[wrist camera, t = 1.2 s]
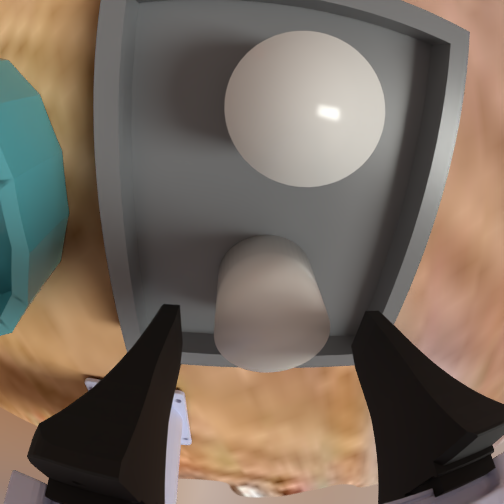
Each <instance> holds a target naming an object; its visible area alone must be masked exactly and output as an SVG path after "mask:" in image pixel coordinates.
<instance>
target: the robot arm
mask: <svg viewBox="0 0 504 504" xmlns="http://www.w3.org/2000/svg"><path fill="white" fill-rule="evenodd" d="M182 346H183V338H182V326H181V313H180V305H173V304H163V305H162V306H161V307H160V309H159V310H158V312H157V314H156V315H155V317H154V318H153V320H152V321H151V323H150V324H149V325H148V327H147V328H146V330H145V331H144V332H143V334H142V335H141V336H140V338H139V339H138V340H137V342H136V343H135V344H134V345H133V346H132V348H131V349H130V350H129V351H128V352H127V354H126V355H125V356H124V357H123V358H122V359H121V361H120V362H119V363H118V364H117V365H116V366H115V367H114V368H113V369H112V370H111V371H110V372H109V373H108V374H107V375H106V376H105V377H104V378H103V379H102V380H99V379H93V378H86V380H85V385H86V387H87V389H88V392H87V393H85V394H84V395H83V396H81V397H80V398H79V399H77V400H76V401H75V402H73V403H72V404H70V405H69V406H68V407H66V408H65V409H63V410H62V411H60V412H58V413H57V414H55V415H53V416H52V417H50V418H48V419H47V420H45V421H43V422H41V423H39V425H38V427H37V429H36V431H35V434H34V436H33V439H32V442H31V445H30V448H29V452H28V455H27V457H28V459H29V461H30V462H31V463H32V464H33V465H34V466H35V467H36V468H37V469H38V470H40V471H41V472H42V473H43V474H45V475H46V476H47V477H49V480H48V485H47V484H45V483H43V482H41V481H39V480H37V479H34V478H32V477H29V476H27V475H25V474H22V473H20V472H18V471H16V470H13V471H12V474H11V478H10V481H9V485H8V489H7V493H6V497H5V501H4V504H176V500H177V486H178V473H179V460H180V448H181V444H182V445H190V444H191V443H192V439H191V433H190V427H189V420H188V413H187V406H186V399H185V394H184V392H182V391H180V390H175V389H176V384H177V379H178V375H179V370H180V365H181V356H182ZM351 348H352V354H353V359H354V364H355V369H356V372H357V375H358V378H359V381H360V384H361V387H362V390H363V393H364V396H365V399H366V402H367V406H368V409H369V412H370V416H371V420H372V425H373V431H374V437H375V444H376V452H377V462H378V483H379V495H378V504H504V452H503V453H501V454H500V455H498V456H496V457H495V458H493V459H492V456H491V454H492V453H493V452H494V448H493V446H492V445H493V444H494V443H495V442H496V441H497V440H498V439H500V438H501V437H502V436H503V435H504V404H502V403H499V402H497V401H495V400H492V399H490V398H488V397H485V396H484V395H482V394H480V393H478V392H476V391H474V390H472V389H470V388H469V387H467V386H465V385H464V384H462V383H461V382H459V381H458V380H456V379H455V378H453V377H452V376H450V375H449V374H448V373H446V372H445V371H444V370H442V369H441V368H440V367H438V366H437V365H436V364H435V363H433V362H432V361H431V360H430V359H429V358H428V357H427V356H425V355H424V354H423V353H422V352H421V351H420V350H419V349H418V348H417V347H416V346H414V345H413V344H412V343H411V342H410V341H409V340H408V339H407V338H406V337H405V336H404V335H403V334H402V333H401V332H400V331H399V330H398V329H397V328H396V327H395V326H394V325H393V324H392V323H391V322H390V321H389V320H388V319H387V318H386V317H385V316H384V315H383V314H382V313H381V312H379V311H365V313H364V316H363V318H362V321H361V323H360V326H359V328H358V331H357V333H356V335H355V338H354V340H353V343H352V345H351Z"/></svg>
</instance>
